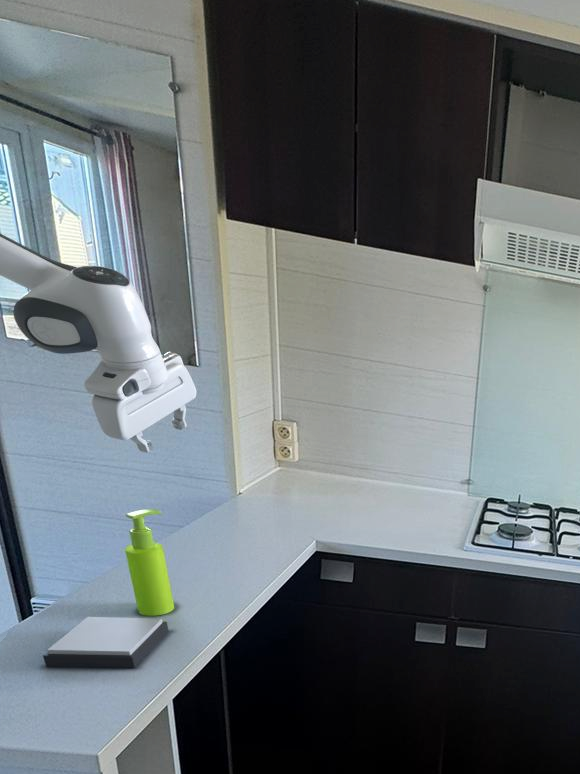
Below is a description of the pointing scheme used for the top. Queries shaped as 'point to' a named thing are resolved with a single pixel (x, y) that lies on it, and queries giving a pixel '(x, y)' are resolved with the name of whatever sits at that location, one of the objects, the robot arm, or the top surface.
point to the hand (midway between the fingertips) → (164, 438)
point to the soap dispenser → (148, 568)
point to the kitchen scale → (107, 643)
